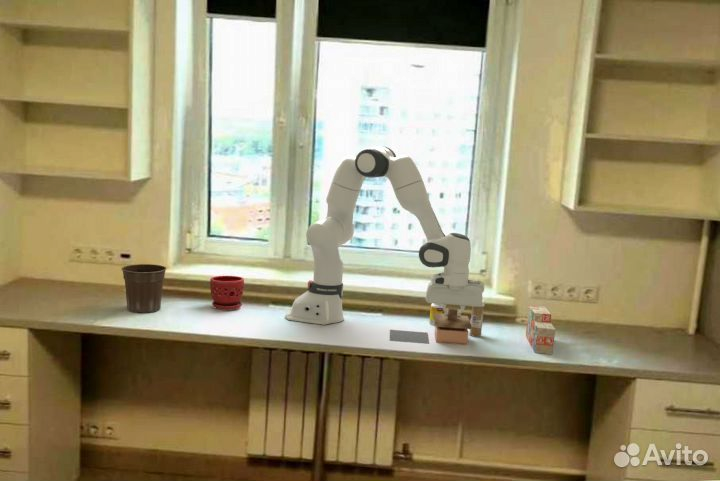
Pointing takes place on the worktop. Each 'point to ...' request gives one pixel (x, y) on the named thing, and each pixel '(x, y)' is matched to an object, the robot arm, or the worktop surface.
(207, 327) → the worktop surface
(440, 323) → the lid
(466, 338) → the orange open box
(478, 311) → the sprinkles bottle
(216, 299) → the plant pot
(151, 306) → the plant pot
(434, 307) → the supplement bottle
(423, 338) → the mat
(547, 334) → the red and white cartons
